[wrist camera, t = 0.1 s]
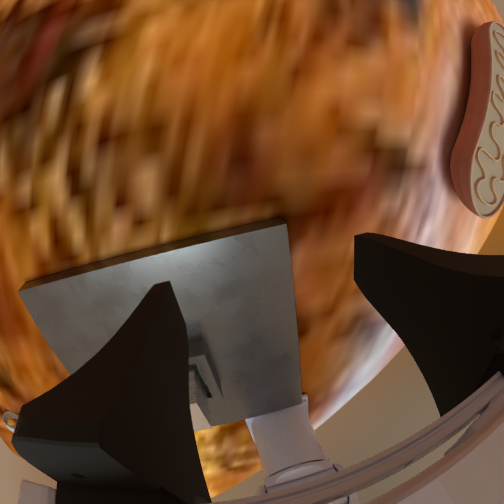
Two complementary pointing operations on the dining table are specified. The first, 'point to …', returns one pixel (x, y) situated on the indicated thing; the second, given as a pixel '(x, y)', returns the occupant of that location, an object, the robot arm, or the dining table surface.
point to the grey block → (198, 399)
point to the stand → (192, 312)
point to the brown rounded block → (482, 127)
